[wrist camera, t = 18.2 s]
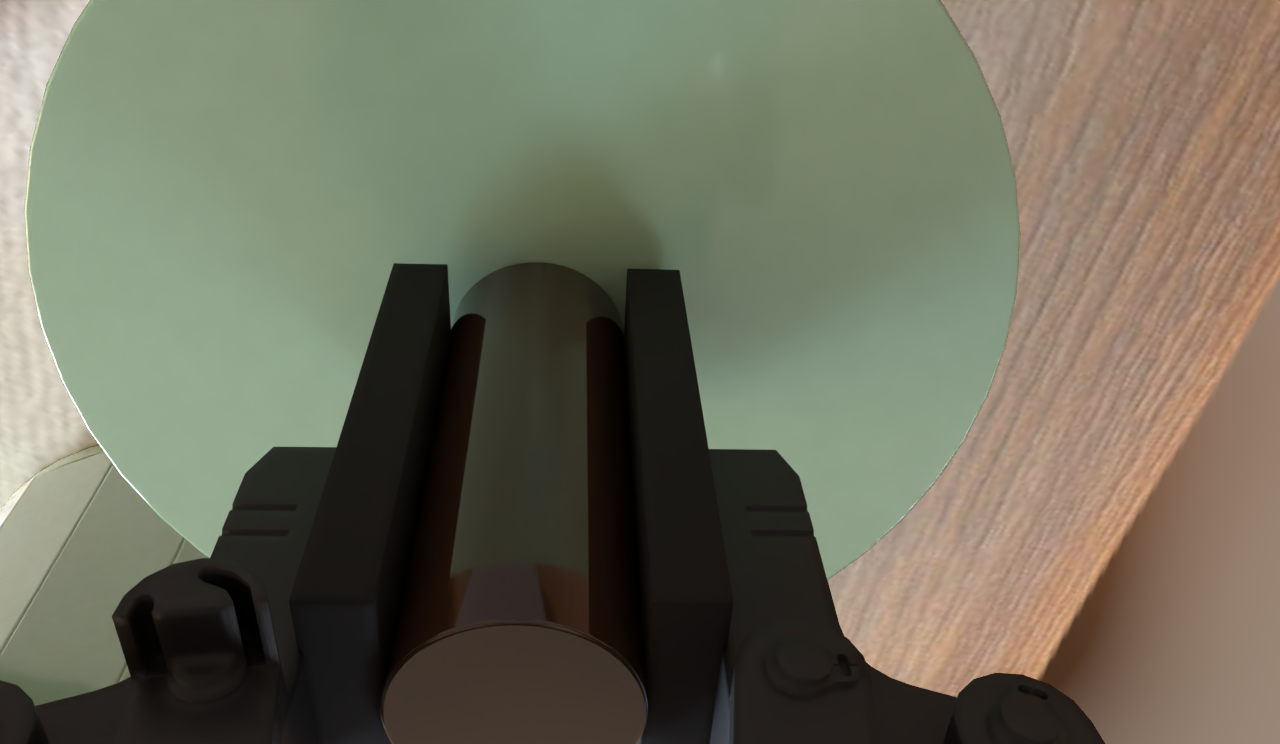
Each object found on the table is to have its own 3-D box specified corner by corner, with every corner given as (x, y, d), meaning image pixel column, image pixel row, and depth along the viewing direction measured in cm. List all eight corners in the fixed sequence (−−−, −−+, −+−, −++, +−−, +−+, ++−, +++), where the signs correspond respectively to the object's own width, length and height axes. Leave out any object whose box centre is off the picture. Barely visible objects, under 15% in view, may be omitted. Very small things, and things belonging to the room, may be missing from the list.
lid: (-78, -253, 13) (-855, -155, 6) (1114, -189, 14) (1652, -40, 7) (163, 617, 21) (-42, 1087, 14) (900, 618, 22) (1049, 1056, 15)
